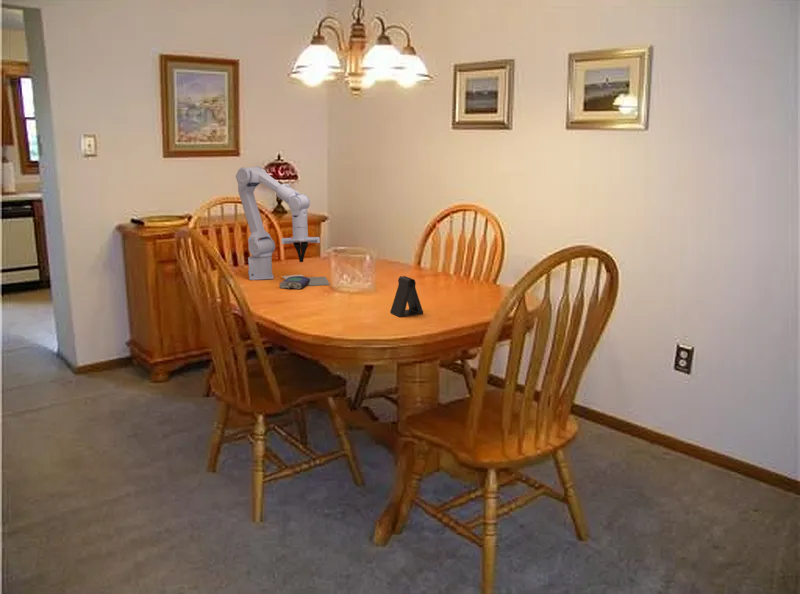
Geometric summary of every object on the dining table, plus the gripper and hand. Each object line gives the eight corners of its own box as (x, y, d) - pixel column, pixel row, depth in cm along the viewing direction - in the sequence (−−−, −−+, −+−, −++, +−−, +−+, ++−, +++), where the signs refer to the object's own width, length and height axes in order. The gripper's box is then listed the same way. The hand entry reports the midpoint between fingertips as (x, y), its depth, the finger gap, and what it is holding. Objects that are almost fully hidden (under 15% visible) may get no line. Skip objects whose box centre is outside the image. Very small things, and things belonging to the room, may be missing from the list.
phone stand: (413, 309, 228) (414, 274, 225) (423, 313, 223) (423, 277, 220) (390, 313, 223) (390, 277, 221) (399, 317, 218) (399, 280, 216)
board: (308, 286, 262) (308, 285, 262) (305, 278, 275) (305, 277, 275) (329, 285, 264) (329, 284, 263) (325, 277, 277) (325, 276, 277)
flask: (287, 282, 266) (277, 289, 256) (287, 275, 266) (276, 282, 256) (310, 283, 264) (300, 290, 254) (310, 276, 264) (300, 282, 254)
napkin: (285, 280, 272) (285, 279, 272) (282, 277, 277) (282, 276, 277) (305, 278, 275) (305, 277, 275) (301, 275, 280) (301, 274, 280)
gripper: (281, 228, 257) (282, 264, 260) (320, 227, 260) (321, 262, 263) (280, 226, 263) (281, 260, 266) (318, 225, 266) (319, 259, 269)
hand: (301, 261), depth 265 cm, fingers closed
